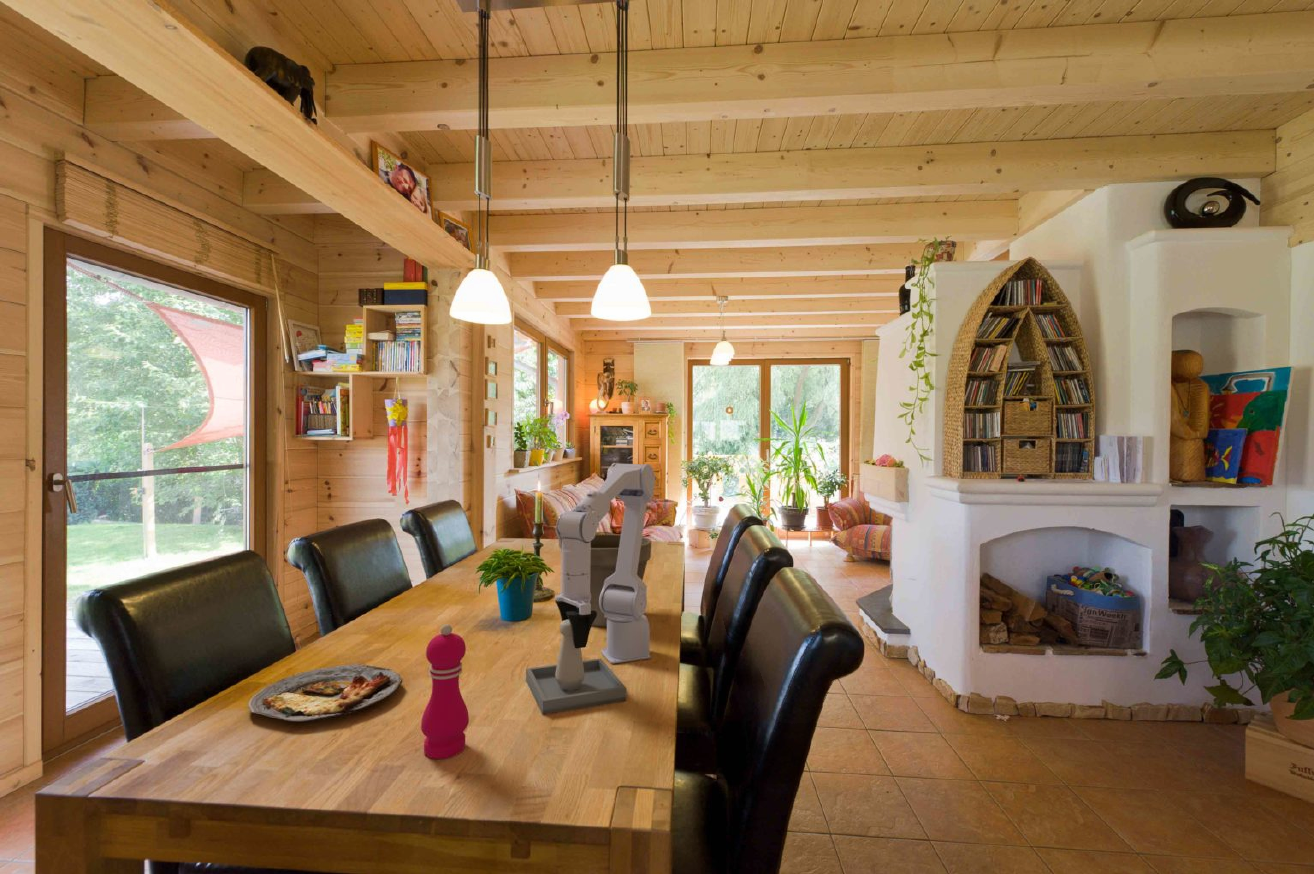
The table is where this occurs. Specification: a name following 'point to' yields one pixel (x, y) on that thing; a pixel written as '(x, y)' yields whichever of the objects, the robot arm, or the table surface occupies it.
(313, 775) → the table surface
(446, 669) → the pepper mill
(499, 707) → the table surface
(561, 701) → the tray
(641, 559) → the plant pot
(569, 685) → the salt shaker
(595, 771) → the table surface
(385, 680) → the food plate
